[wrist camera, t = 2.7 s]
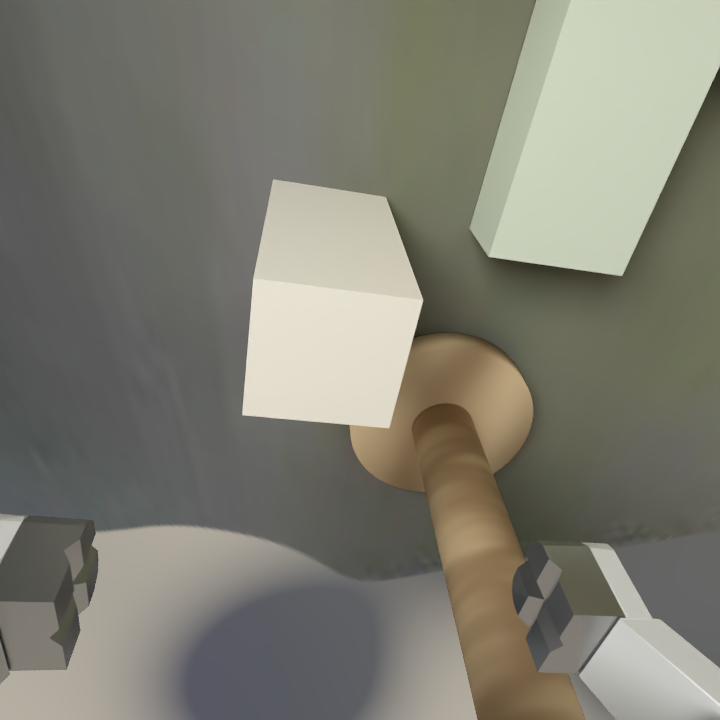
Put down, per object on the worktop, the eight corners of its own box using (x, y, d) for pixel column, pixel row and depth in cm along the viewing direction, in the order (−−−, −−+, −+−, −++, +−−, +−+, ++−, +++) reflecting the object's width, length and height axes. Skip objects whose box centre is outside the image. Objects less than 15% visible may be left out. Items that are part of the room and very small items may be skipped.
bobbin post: (549, 344, 27) (848, 785, 12) (493, 478, 32) (656, 913, 17) (366, 322, 26) (445, 791, 11) (336, 465, 30) (361, 929, 15)
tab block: (386, 197, 22) (423, 299, 15) (365, 296, 25) (388, 428, 17) (273, 179, 22) (253, 278, 14) (263, 283, 24) (242, 414, 17)
